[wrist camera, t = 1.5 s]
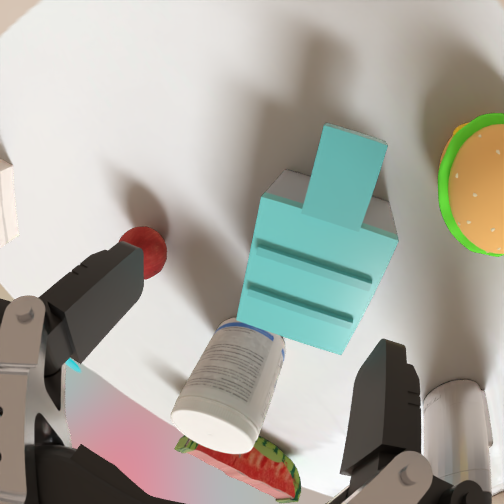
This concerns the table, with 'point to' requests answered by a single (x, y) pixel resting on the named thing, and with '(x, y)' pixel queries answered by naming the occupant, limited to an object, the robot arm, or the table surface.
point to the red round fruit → (148, 248)
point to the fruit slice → (253, 467)
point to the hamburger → (475, 184)
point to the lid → (319, 248)
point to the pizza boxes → (7, 205)
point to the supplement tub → (230, 388)
